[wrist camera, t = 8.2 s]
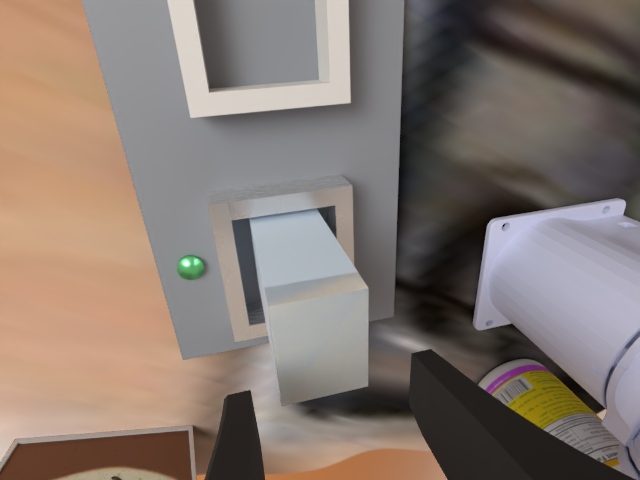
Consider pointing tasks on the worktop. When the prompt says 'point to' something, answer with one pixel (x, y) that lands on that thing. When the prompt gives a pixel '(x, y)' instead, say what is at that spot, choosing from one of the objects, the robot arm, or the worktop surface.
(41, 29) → the worktop surface
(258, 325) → the port
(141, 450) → the food container
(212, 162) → the panel
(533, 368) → the supplement bottle
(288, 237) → the plug
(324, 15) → the frame
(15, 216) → the worktop surface
